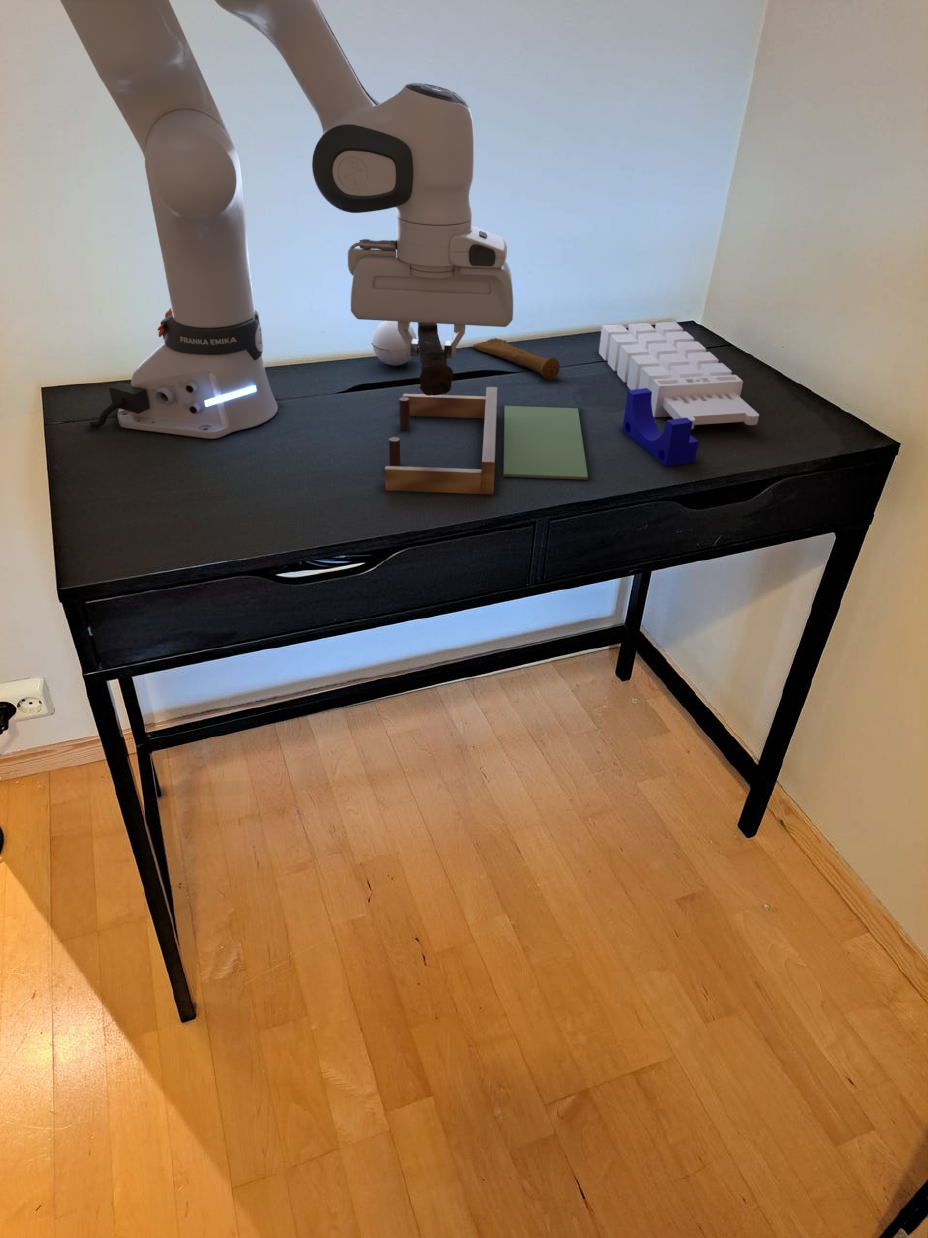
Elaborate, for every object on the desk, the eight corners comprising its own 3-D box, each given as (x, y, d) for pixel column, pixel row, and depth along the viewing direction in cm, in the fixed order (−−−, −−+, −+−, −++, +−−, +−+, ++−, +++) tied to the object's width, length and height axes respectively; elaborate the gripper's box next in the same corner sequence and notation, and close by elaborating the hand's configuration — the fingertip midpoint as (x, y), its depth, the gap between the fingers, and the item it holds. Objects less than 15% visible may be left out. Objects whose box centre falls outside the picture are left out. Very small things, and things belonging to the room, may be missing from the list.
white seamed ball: (365, 360, 149) (363, 316, 145) (405, 353, 152) (404, 309, 148) (391, 381, 142) (389, 335, 138) (432, 373, 145) (432, 328, 141)
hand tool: (453, 397, 109) (453, 359, 106) (420, 397, 109) (420, 359, 106) (445, 342, 124) (445, 308, 121) (416, 342, 124) (416, 308, 121)
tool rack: (385, 490, 114) (384, 458, 111) (403, 412, 133) (403, 383, 130) (493, 494, 113) (494, 462, 111) (496, 415, 133) (497, 386, 130)
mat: (503, 476, 117) (503, 473, 117) (504, 407, 135) (504, 405, 135) (587, 479, 117) (587, 476, 117) (577, 410, 135) (578, 408, 134)
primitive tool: (471, 347, 155) (472, 327, 153) (496, 341, 158) (497, 321, 156) (544, 383, 143) (546, 362, 141) (569, 376, 146) (572, 355, 144)
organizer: (675, 321, 154) (769, 403, 126) (670, 349, 156) (761, 435, 129) (601, 325, 151) (681, 409, 124) (598, 353, 154) (675, 441, 127)
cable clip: (694, 461, 122) (702, 420, 118) (665, 466, 121) (672, 424, 117) (649, 425, 131) (655, 386, 127) (622, 430, 129) (627, 390, 126)
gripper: (343, 244, 105) (347, 360, 113) (518, 253, 105) (509, 368, 113) (350, 231, 110) (354, 342, 118) (517, 240, 110) (509, 351, 118)
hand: (431, 355), depth 115 cm, fingers closed on hand tool, 3 cm apart
